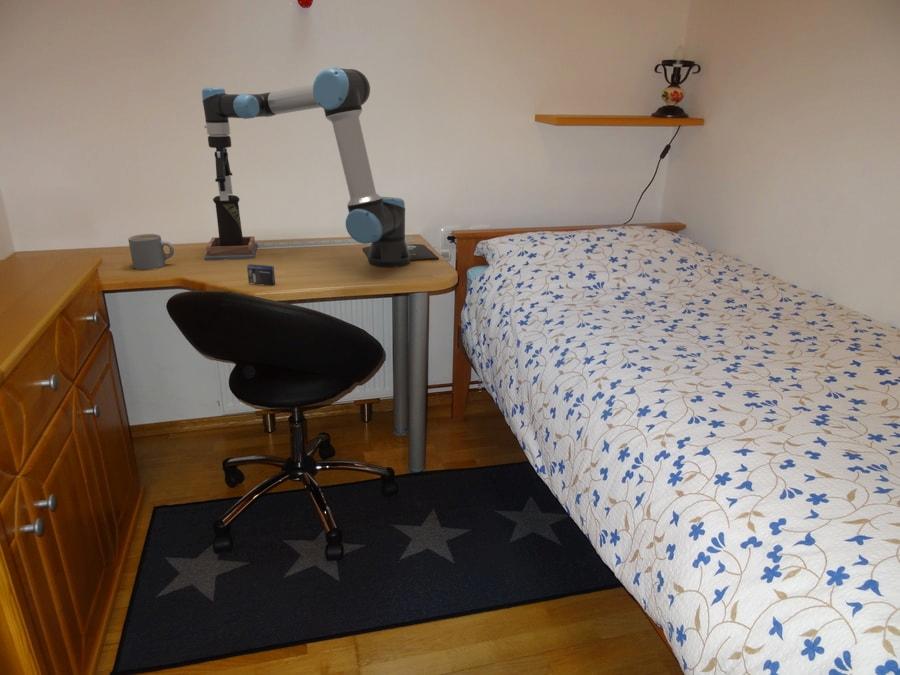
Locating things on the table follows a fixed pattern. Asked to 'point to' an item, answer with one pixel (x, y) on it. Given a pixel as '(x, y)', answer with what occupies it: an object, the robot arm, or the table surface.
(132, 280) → the table surface
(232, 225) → the container
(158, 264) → the coffee mug
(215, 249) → the collar plate
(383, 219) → the robot arm
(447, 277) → the table surface
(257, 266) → the mini dv tape
